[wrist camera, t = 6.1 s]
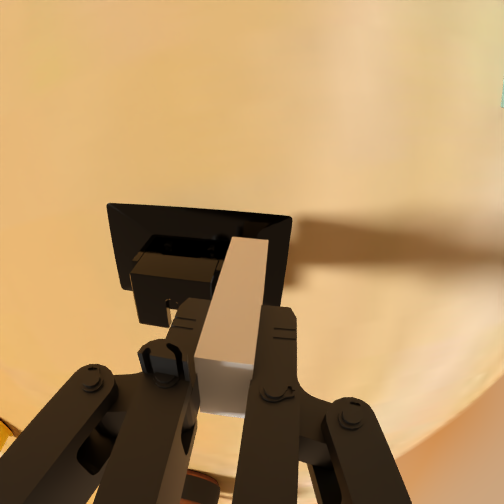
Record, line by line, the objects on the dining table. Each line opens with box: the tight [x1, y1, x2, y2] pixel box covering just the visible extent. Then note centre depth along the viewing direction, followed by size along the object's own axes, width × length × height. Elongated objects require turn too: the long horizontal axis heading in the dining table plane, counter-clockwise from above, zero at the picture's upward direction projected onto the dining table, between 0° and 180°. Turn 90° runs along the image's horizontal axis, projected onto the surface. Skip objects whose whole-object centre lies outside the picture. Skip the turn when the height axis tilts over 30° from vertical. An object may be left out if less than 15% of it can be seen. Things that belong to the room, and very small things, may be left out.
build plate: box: [107, 203, 292, 328], centre depth 15 cm, size 12×7×5 cm, turn 87°
